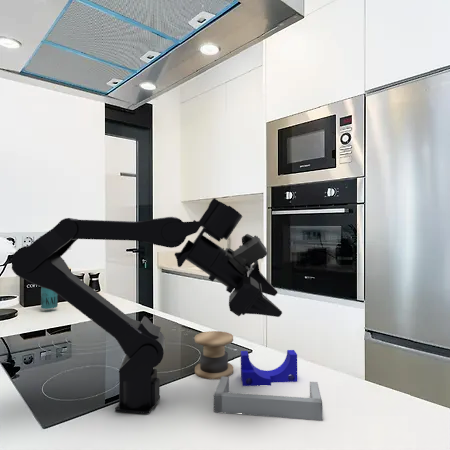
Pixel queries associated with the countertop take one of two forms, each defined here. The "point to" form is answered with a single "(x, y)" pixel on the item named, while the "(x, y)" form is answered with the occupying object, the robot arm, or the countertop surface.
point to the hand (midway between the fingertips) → (278, 303)
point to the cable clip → (261, 377)
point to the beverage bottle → (48, 299)
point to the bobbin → (214, 355)
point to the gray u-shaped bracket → (268, 403)
